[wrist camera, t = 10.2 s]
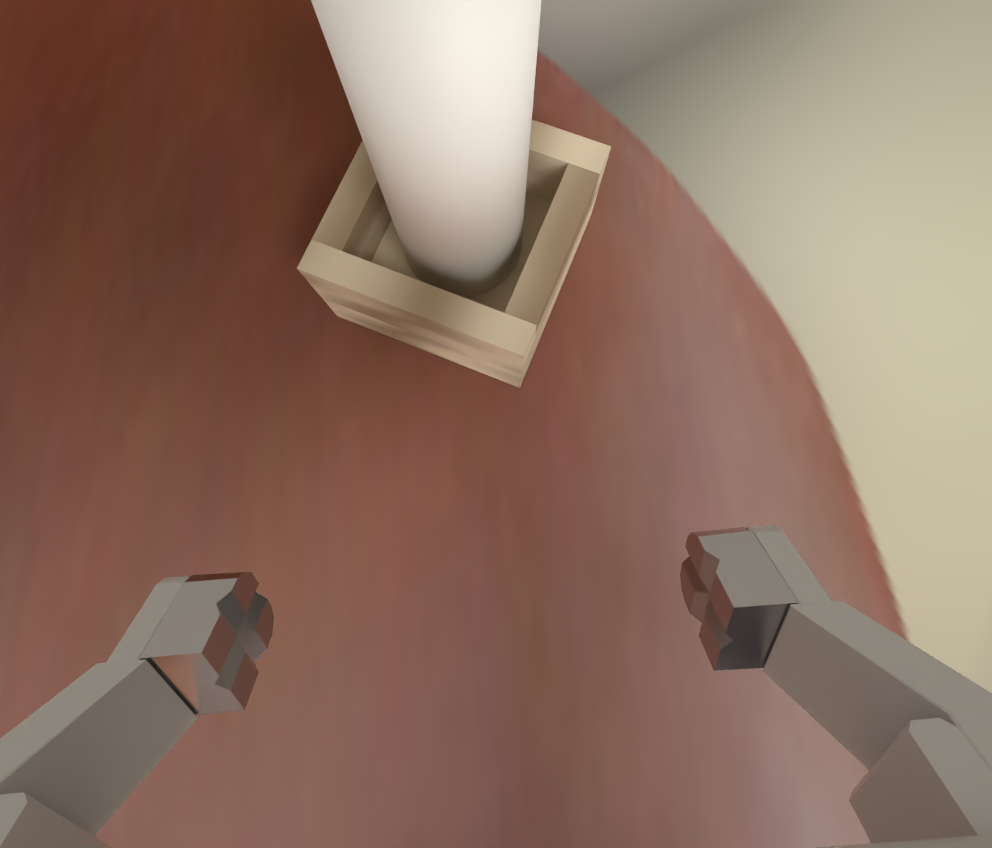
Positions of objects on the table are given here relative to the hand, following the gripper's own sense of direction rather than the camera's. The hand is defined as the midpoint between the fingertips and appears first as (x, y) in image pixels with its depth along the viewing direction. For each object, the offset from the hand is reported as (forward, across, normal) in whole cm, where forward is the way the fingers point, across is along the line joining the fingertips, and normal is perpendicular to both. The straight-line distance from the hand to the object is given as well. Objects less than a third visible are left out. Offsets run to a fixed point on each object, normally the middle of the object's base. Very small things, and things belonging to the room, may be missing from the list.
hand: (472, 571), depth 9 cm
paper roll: (+15, 0, -2) cm, 16 cm away
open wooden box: (+17, 0, -1) cm, 17 cm away
